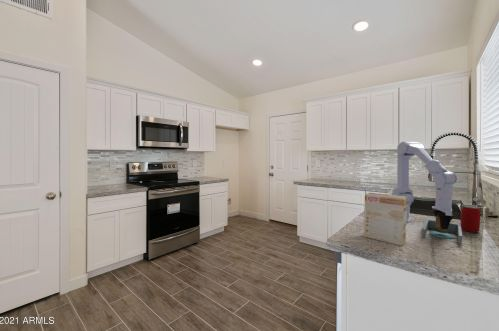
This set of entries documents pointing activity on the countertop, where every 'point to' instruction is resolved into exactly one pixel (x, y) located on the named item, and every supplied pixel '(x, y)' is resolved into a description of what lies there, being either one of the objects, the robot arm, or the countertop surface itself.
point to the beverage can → (470, 218)
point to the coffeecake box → (385, 218)
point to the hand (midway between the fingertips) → (442, 227)
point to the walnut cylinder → (438, 227)
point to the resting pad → (442, 235)
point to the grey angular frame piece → (451, 228)
